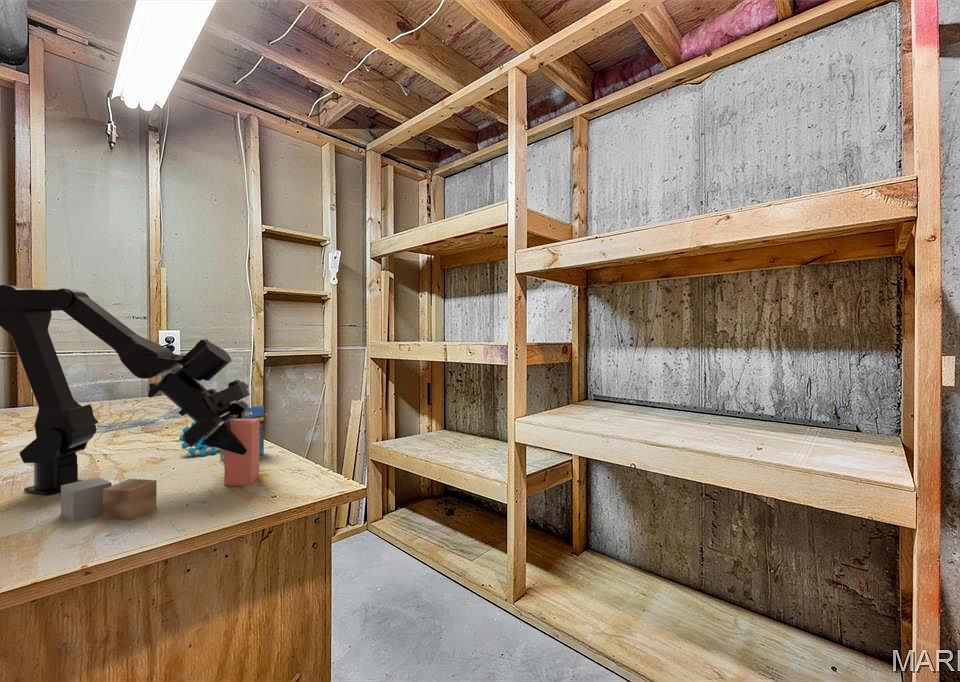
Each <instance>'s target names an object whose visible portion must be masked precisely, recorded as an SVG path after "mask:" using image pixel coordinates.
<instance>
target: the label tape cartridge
mask: <svg viewBox="0 0 960 682" xmlns="http://www.w3.org/2000/svg"><path fill="white" fill-rule="evenodd" d="M264 410H265V405H258V406H251V407H248V408H247V409H246V410H244V411H245V415H244V419H260V428H259V455H262V454H264V453H265V451H264V450H265V449H264V448H265V447H264V446H265V444H264V443H265V434H264V433H265V427H264V425H265V415H264V414H265V412H264ZM247 412H248V413H251V414H247V415H246V413H247ZM219 450H220V454H219V455H220V461H221V460H222V461H221V462H225V450H223V449H219Z"/></svg>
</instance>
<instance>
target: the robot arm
mask: <svg viewBox="0 0 960 682" xmlns="http://www.w3.org/2000/svg"><path fill="white" fill-rule="evenodd" d="M53 311H55V312H57V311H58V312H59V311H63V312H64V313H65V314H66V315H68V316H69V317H70V318H72V319H73V320H75V321H76V322H77V323H79V324H80V325H81V326H82V327H84V328H85V329H86V330H88V331H89V332H90V333H92V334H93V335H95V336H96V338H97V337H98V339H100V340H101V341H102V342H104V343H105V344H106V345H108V346H109V348H112V349H113V350H114V352H116V353H117V355H118V358H119V360H120V362H121V363H122V364H123V365H124V366H125V368H126V369H128V371H129V372H130V373H131V374H132V375H133V376H135V377H137V378H138V379H141V380H142V379H144V380H146V379H152V378H158V377H162V376H164V377H163V378H162V379H160V380H158V382H157V381H155V382H151V383H149V384H148V386H149V387H148V388H149V390H148V394H147V397H148V398H150V399H151V398H154V397H157V396H160V395H162V394H163V395H164V396H166V398H167V399H169V400H170V402H172V403H173V404H174V405H176V406H177V408H178V409H180V410H179V411H178V414H179V416H182V417H183V416H186V415H187V416H188V417H189V418H190V419H191V420H193V422H196V423H195V424H194V425H193V426H191V427H189V429H188V430H187V431H186V432H185V433H184V432H183V433H182V434H183V441H182V443H183V442H185V443H186V444H187V445H188V446H189V447H188V448H189V449H191V448H194V447H195V446H194V445H196V444H198V443H199V440H200V439H201V438H202V437H204V438H206V439H205V440H204V441H203V442H202V443H201V445H207V446H211V447H215V448H216V449H219V450H221V449H223V450H227V451H231V452H234V453H238V454H241V455H244V454H245V453H246V452H247V450H246V448H245V447H244V446H243V444H242V443H241V442H240V441H239V440H238V439H237V437H236V436H235V435H234V434H233V433H232V431H231V430H230V421H231V420H233V419H244V416H245V415H246V413H245V411H244V410H246V409H247V408H250V407H249V405H248V404H247V403H246V402H245V401H243V400H242V399H245V398H247V397H248V396H251V394H250V392H249V390H248V389H249V385H248V384H247V383H245V381H241V380H239V379H236V380H234V381H231V382H227V383H228V385H227V387H226V388H224V389H221V390H220V391H216V390H215V389H214V388H209V389H207V388H206V387H205V386H204V385H202V384H201V383H200V382H201V381H203V380H204V381H208V382H209V381H211V380H212V379H213V378H214V377H216V375H217V374H219V373H220V372H221V371H222V370H224V368H225V367H226V366H228V365H229V364H230V363H231V362H232V357H231V355H229V354H228V352H227V351H225V349H223V348H221V347H219V346H218V345H216V344H214V343H212V342H210V341H209V340H208V339H207V338H206V339H204V338H203V339H200V340H199V341H198V342H197V343H196V344H195V345H194V347H193V348H192V349H190V350H189V351H188V352H187V353H186V354H178V353H177V354H175V353H174V352H173V351H172V350H170V349H168V348H167V347H165V346H163V345H161V344H159V343H158V342H156V341H153V340H150V339H147V338H145V337H143V336H141V335H140V334H137V333H136V332H135V331H133V330H132V329H131V328H129V327H128V326H127V325H126V324H124V322H121V320H119V319H117V317H115V316H114V315H113V314H111V313H110V312H109V311H107V309H104V308H103V307H102V306H101V305H99V304H98V303H97V302H96V301H94V300H93V299H92V298H90V296H89V295H88V294H87V293H86V292H85V291H83V290H80V289H71V288H58V289H38V288H35V287H29V286H28V287H27V286H19V285H18V286H17V285H9V284H8V285H7V284H0V328H2V329H3V330H4V331H5V332H6V333H8V334H9V335H10V336H11V339H12V340H13V344H14V346H15V348H16V352H17V355H18V357H19V359H20V362H21V364H22V367H23V370H24V372H25V375H26V377H27V380H28V381H27V382H28V383H29V386H30V388H31V390H32V394H33V396H34V399H35V401H36V405H37V407H38V411H37V415H36V418H35V421H34V431H35V436H36V438H35V439H33V440H32V441H31V442H30V443H28V445H26V446H25V447H24V448H23V449H22V450H21V451H20V452H19V456H20V459H21V461H22V462H23V464H33V478H34V479H33V484H34V485H32V486H31V485H30V486H27V487H24V488H23V491H24V492H28V493H33V494H39V495H45V496H47V495H52V494H55V493H59V492H61V485H66V484H70V483H74V482H79V481H83V480H84V479H80V478H79V464H78V454H77V452H80V451H84V450H85V449H86V448H87V445H88V443H89V441H90V440H91V439H93V437H94V436H95V434H96V433H97V426H96V425H97V424H98V423H99V421H98V419H96V417H95V415H94V411H93V410H94V409H93V407H92V405H91V404H86V405H83V406H82V405H81V404H80V403H78V402H77V401H76V400H75V399H74V397H73V394H72V392H71V390H70V386H69V383H68V381H67V379H66V378H67V377H66V375H65V373H64V371H63V367H62V365H61V363H60V359H59V358H58V354H57V352H56V349H55V345H54V343H53V341H52V338H51V336H50V333H49V326H50V323H51V319H52V316H53V315H52V312H53ZM177 368H179V369H178V370H177V371H175V373H173V370H174V369H177ZM211 447H210V448H211Z"/></svg>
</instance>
